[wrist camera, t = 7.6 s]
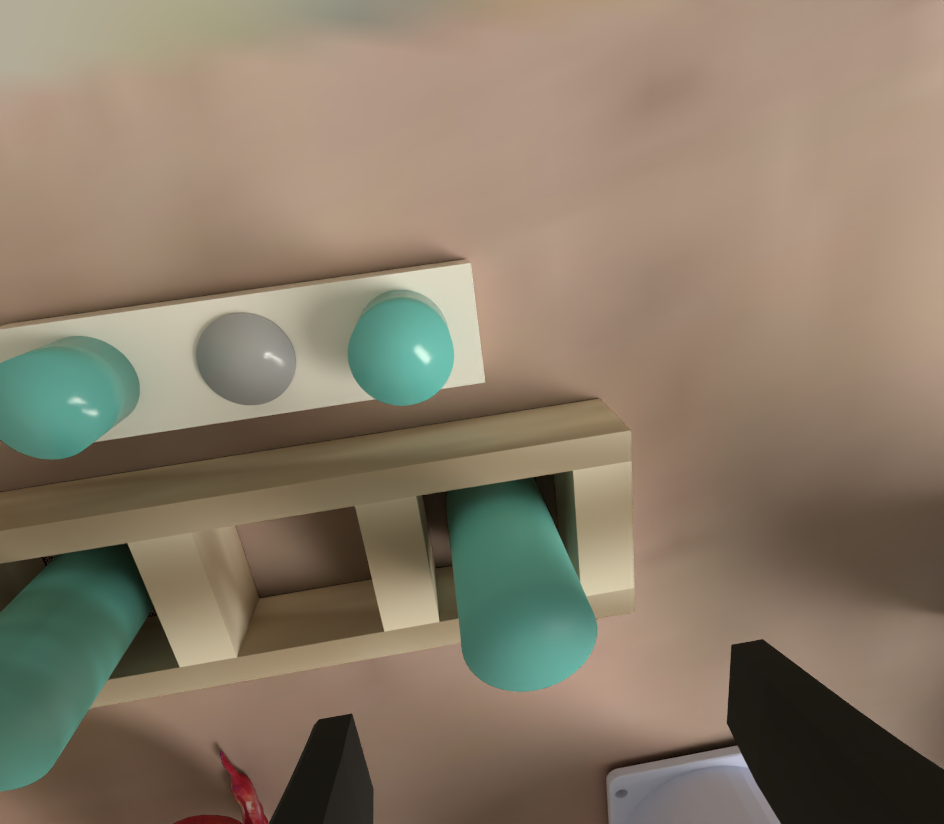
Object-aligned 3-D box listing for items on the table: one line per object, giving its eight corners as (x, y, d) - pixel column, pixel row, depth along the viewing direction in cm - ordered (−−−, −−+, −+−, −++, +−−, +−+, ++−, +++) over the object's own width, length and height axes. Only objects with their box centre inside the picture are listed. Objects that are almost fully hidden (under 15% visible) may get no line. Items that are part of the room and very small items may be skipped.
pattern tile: (480, 371, 16) (495, 407, 13) (57, 436, 15) (-21, 488, 13) (466, 258, 15) (479, 272, 12) (7, 324, 14) (-91, 353, 11)
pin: (542, 533, 18) (600, 678, 13) (453, 548, 18) (471, 701, 13) (534, 451, 17) (593, 570, 12) (438, 467, 17) (452, 595, 11)
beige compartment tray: (607, 561, 19) (689, 712, 13) (37, 659, 18) (-132, 866, 12) (600, 398, 17) (695, 496, 11) (-50, 500, 16) (-302, 664, 10)
